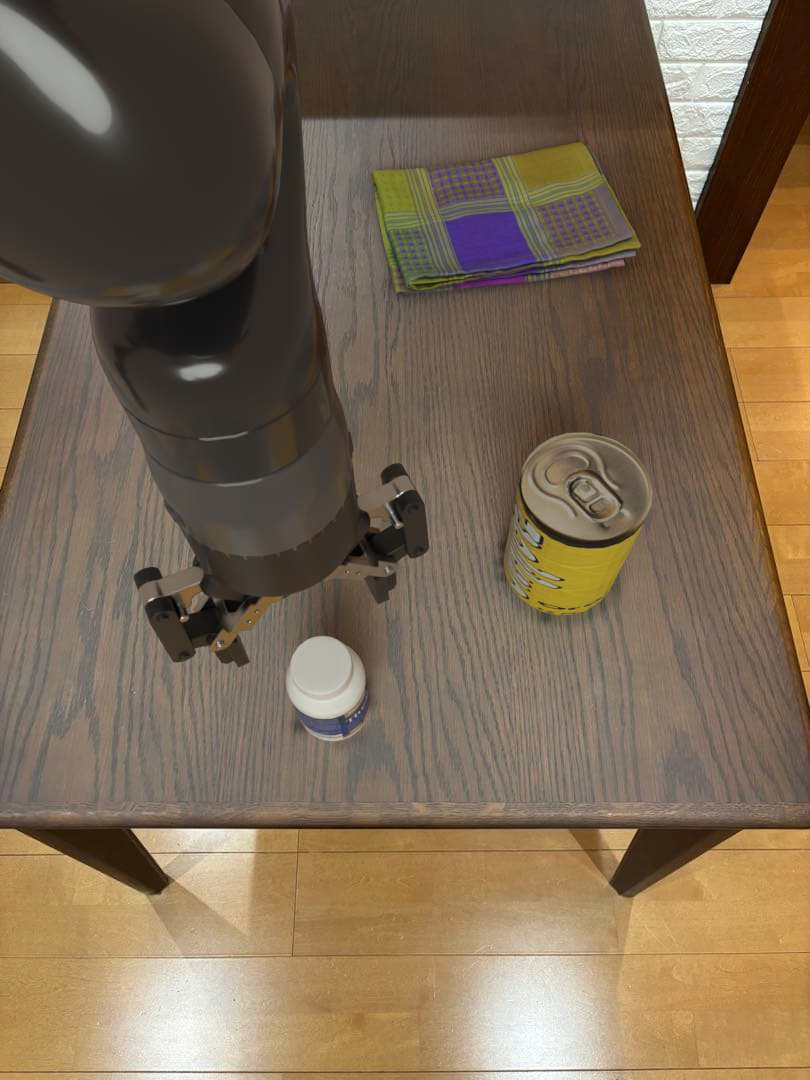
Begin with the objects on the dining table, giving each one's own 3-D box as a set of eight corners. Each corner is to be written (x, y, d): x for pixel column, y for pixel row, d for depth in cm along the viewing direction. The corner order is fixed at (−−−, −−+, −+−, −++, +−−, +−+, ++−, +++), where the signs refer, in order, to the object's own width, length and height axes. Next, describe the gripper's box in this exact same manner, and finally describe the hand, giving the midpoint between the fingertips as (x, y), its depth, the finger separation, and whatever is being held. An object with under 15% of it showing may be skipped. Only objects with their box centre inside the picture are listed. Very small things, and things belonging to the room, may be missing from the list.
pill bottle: (363, 748, 60) (354, 711, 51) (291, 736, 60) (270, 698, 52) (376, 677, 62) (369, 631, 54) (307, 667, 63) (289, 619, 54)
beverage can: (558, 495, 69) (583, 410, 59) (638, 568, 66) (680, 492, 56) (480, 558, 67) (491, 481, 56) (559, 637, 64) (587, 571, 53)
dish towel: (368, 181, 87) (367, 159, 85) (591, 152, 89) (596, 129, 87) (396, 304, 79) (395, 283, 77) (640, 269, 81) (647, 248, 79)
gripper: (380, 340, 36) (392, 519, 50) (58, 464, 33) (169, 616, 47) (460, 472, 32) (448, 623, 47) (111, 621, 30) (212, 732, 44)
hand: (308, 619), depth 47 cm, fingers open, 8 cm apart
